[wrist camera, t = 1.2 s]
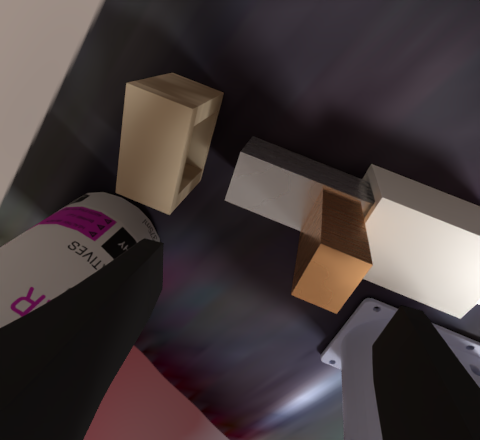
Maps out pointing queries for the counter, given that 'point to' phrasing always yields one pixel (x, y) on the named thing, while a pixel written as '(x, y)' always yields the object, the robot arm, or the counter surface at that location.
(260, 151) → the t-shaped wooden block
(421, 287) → the white rectangular block
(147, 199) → the oak socket
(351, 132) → the counter surface
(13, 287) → the supplement can
